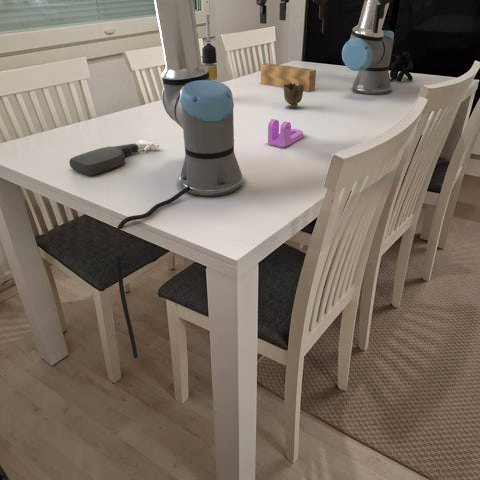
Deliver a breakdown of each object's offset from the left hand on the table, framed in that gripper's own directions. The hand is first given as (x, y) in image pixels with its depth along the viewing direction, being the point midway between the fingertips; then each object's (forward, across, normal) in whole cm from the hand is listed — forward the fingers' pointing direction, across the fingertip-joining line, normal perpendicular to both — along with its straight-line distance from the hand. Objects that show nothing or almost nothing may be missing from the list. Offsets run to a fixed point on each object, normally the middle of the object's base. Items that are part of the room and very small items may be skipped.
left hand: (349, 32), depth 120 cm
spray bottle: (+30, +63, +18) cm, 72 cm away
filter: (+30, +45, -47) cm, 72 cm away
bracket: (+30, +15, +1) cm, 34 cm away
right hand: (+5, +22, -73) cm, 76 cm away
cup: (+30, +13, -35) cm, 48 cm away
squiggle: (+30, -36, -80) cm, 93 cm away
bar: (+30, +15, -68) cm, 76 cm away
